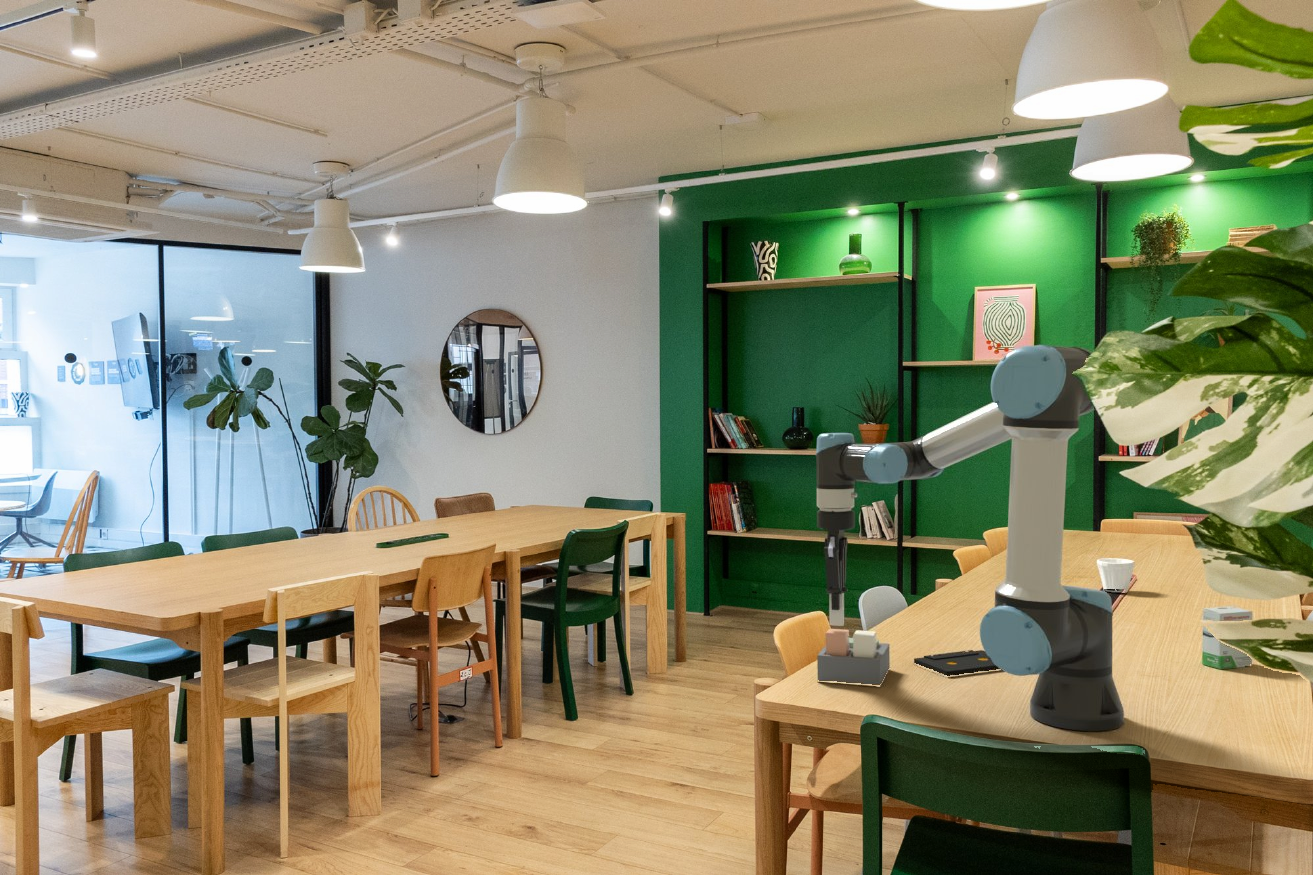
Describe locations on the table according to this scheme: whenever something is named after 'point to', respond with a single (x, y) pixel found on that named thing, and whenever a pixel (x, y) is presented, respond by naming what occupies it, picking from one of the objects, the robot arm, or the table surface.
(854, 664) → the grey open box
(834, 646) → the pink block
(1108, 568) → the cup
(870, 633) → the cream block
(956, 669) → the black flat panel
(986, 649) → the robot arm
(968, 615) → the table surface
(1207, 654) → the ink box
